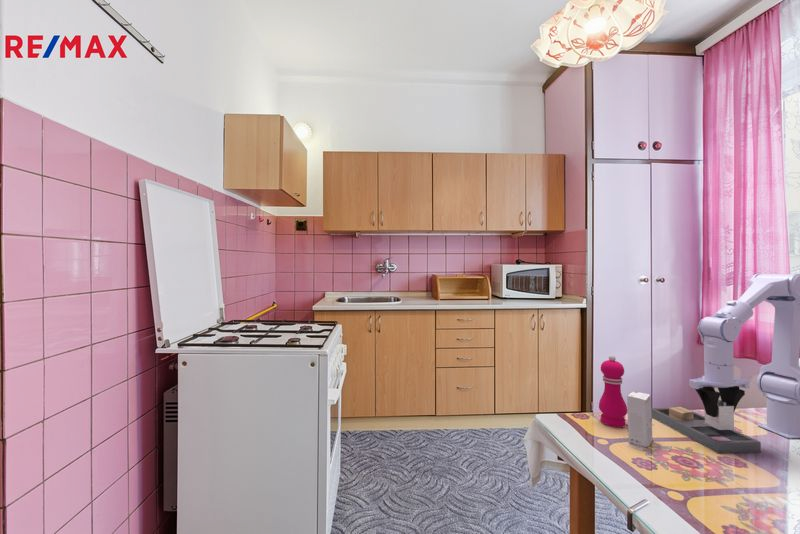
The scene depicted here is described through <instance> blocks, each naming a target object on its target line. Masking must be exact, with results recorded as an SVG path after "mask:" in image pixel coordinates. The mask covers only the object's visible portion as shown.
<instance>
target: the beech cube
mask: <svg viewBox="0 0 800 534" xmlns="http://www.w3.org/2000/svg"><path fill="white" fill-rule="evenodd" d="M668 408H669V416H670V417H672V418H674V419H676V420H677V421H680V420H693V412H694V411H693V410H691V409H689V410H687V409H688V408H687V409H684V408H685V407H681V406H672V407H668ZM690 410H691V411H690ZM692 411H693V412H692Z"/></svg>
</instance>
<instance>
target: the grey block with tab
mask: <svg viewBox="0 0 800 534" xmlns="http://www.w3.org/2000/svg"><path fill="white" fill-rule="evenodd" d="M704 417H705V423H706V424H708V425H710V426H712V427H714V428H716V429H718V430H735V412H734V406H732V405H730V404H727V403H726V402H723V401H721V399H719V400H718V404H717V414H716V417H712V416H709V415H707V414H706V411H705V410H704Z"/></svg>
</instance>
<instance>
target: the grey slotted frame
mask: <svg viewBox="0 0 800 534" xmlns="http://www.w3.org/2000/svg"><path fill="white" fill-rule="evenodd" d="M669 408H670V407H654V408H653V407H651V415H652V419H653V420H655V421H658V422H660V423H662V424H664V425H665V426H667V427H669V428H671V429H673V430H674V431H676V432H678V433H679V434H682V435H683V436H685V437H687V438H689V439H691V440H693V441H695V443H699V444H700V445H702V446H704V447H706V448H708V449H709V450H711V451H713V452H715V453H717V454H737V453H738V454H743V453H744V454H745V453H762V447H761V446H762V443H761V441H759V440H757V439H754V438H753V437H750V436H748V435H747V434H744V433H742V432H740V431H737V430H735V429H734V430H718V429H716V428H714V427H712V426H710V425H708V424H706V423H705V415H702V414H700V413H697V412H695V411H693V410H691V409H689V408H687V407H683V408H684V409H687V410H690V411H692V412H693V420H680V421H677V420H676V419H674V418H672V417H670V416H669ZM711 436H722V437H724V438H726V439H729V440H717V439H715V438H713V437H711Z"/></svg>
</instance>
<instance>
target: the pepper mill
mask: <svg viewBox="0 0 800 534" xmlns="http://www.w3.org/2000/svg"><path fill="white" fill-rule="evenodd" d="M616 359H617V357H616V356H615V355H612V354H611V355H609V356H608V359H607V360H605V361H604V360H603V362H602V363H601V364H600V371H601V373H602V374H603V375H602V381H603V382H604V383H603V384H604V390H603V393H602V395H601V397H600V399H599V402H598V409H599V411H600V412H601V415H600V421H601V423H602V424H604V425H606V426H609V427H613V428H624V427H625V426H627V425H626V421H627V420H626V418H625V416H626V415H628V405H627V404H626V402H625V401H626V400H625V399H624V398H623V395H622V391H621V388H622V386H621V385H622V384H623V378H622V377H623V376H624V375H625V368H624V366H623V364H622V363H621V362H619V361H617V360H616Z"/></svg>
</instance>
